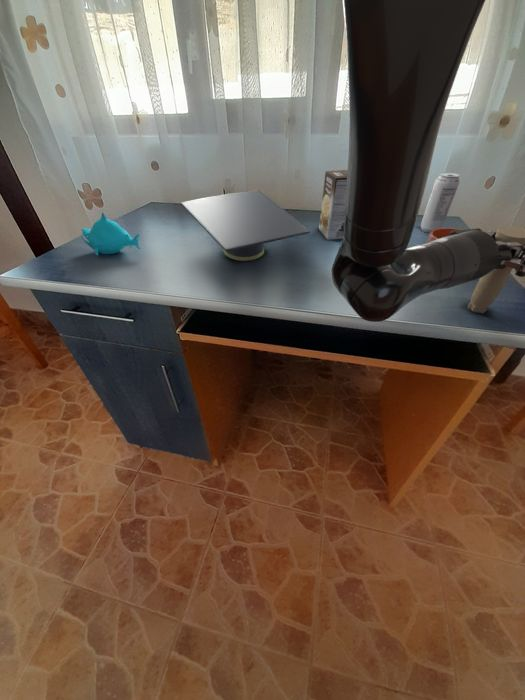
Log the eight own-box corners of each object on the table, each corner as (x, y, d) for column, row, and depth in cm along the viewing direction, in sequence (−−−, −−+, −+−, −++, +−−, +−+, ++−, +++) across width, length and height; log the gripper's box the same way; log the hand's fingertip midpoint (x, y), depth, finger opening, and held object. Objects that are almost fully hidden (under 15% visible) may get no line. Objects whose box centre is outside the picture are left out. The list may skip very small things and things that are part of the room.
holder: (478, 259, 75) (489, 235, 71) (462, 274, 69) (474, 249, 65) (432, 247, 81) (440, 224, 77) (414, 260, 75) (422, 236, 71)
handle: (500, 313, 57) (549, 235, 47) (472, 318, 56) (516, 239, 46) (480, 300, 61) (522, 225, 51) (453, 305, 59) (491, 229, 50)
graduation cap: (185, 239, 85) (179, 201, 77) (257, 224, 93) (258, 188, 85) (224, 292, 68) (221, 250, 61) (307, 269, 76) (314, 230, 69)
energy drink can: (433, 226, 94) (453, 172, 84) (444, 233, 89) (466, 176, 79) (415, 227, 93) (433, 172, 83) (425, 234, 89) (445, 177, 79)
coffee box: (318, 229, 93) (324, 170, 82) (337, 228, 93) (346, 169, 83) (327, 240, 86) (335, 177, 75) (348, 238, 87) (359, 176, 76)
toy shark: (101, 243, 86) (87, 203, 79) (155, 250, 81) (145, 209, 74) (76, 257, 79) (57, 214, 72) (134, 265, 74) (120, 221, 67)
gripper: (514, 254, 38) (587, 232, 43) (423, 221, 48) (493, 207, 53) (485, 304, 43) (554, 279, 48) (409, 265, 52) (473, 248, 58)
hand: (522, 241), depth 50 cm, fingers closed on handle, 5 cm apart
